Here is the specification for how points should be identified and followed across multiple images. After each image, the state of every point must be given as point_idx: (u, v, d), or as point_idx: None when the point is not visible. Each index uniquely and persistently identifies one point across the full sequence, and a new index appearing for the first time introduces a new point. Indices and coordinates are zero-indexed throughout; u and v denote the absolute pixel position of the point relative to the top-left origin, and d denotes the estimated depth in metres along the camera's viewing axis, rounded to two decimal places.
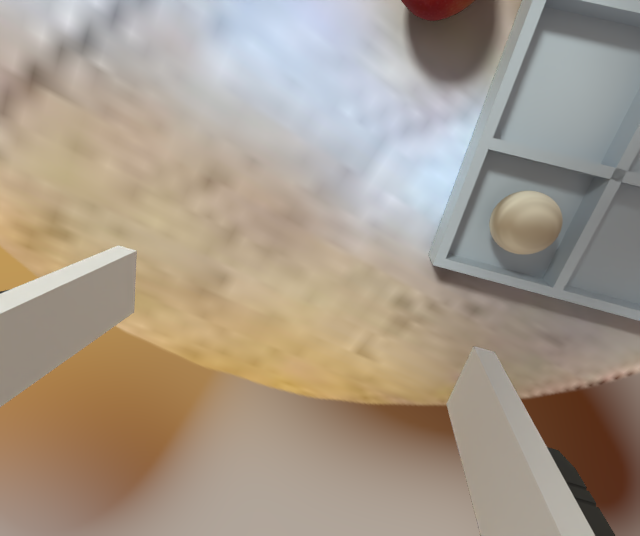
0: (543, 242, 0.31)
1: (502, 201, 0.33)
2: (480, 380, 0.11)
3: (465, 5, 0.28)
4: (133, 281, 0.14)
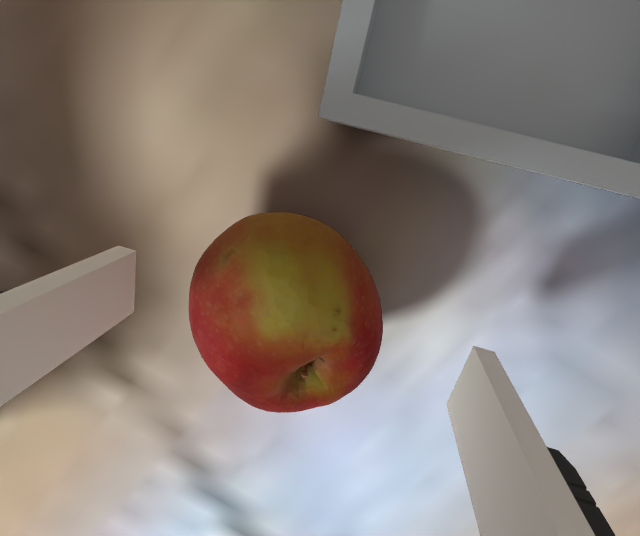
0: None
1: None
2: (480, 380, 0.11)
3: (369, 281, 0.13)
4: (133, 281, 0.14)
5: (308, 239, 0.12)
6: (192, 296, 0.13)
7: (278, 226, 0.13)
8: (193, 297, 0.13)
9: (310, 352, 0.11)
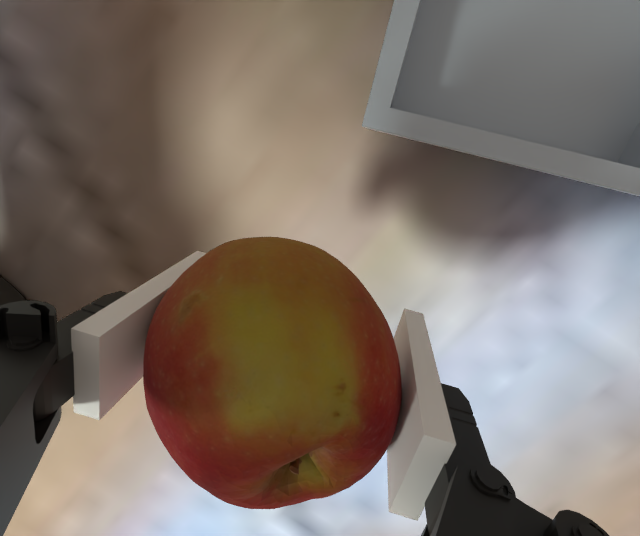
0: None
1: None
2: (404, 335, 0.13)
3: (384, 335, 0.10)
4: None
5: (302, 280, 0.09)
6: (145, 354, 0.09)
7: (261, 261, 0.09)
8: (146, 356, 0.09)
9: (301, 447, 0.08)
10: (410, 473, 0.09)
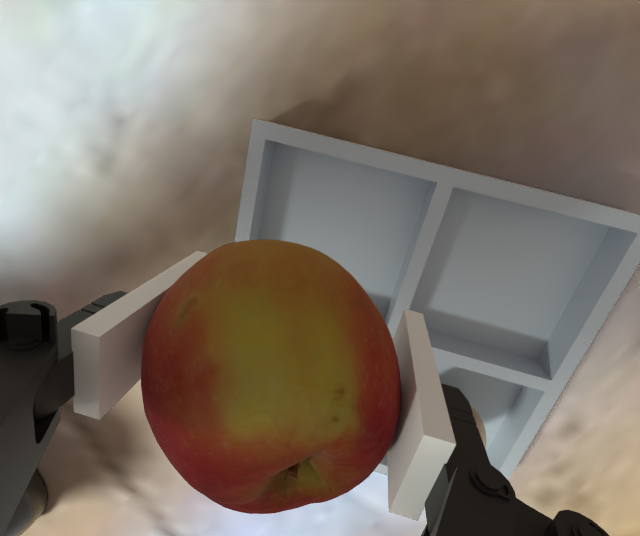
0: None
1: None
2: (404, 335, 0.13)
3: (384, 339, 0.10)
4: None
5: (300, 284, 0.09)
6: (143, 358, 0.09)
7: (260, 264, 0.09)
8: (143, 360, 0.09)
9: (300, 452, 0.08)
10: (410, 473, 0.09)
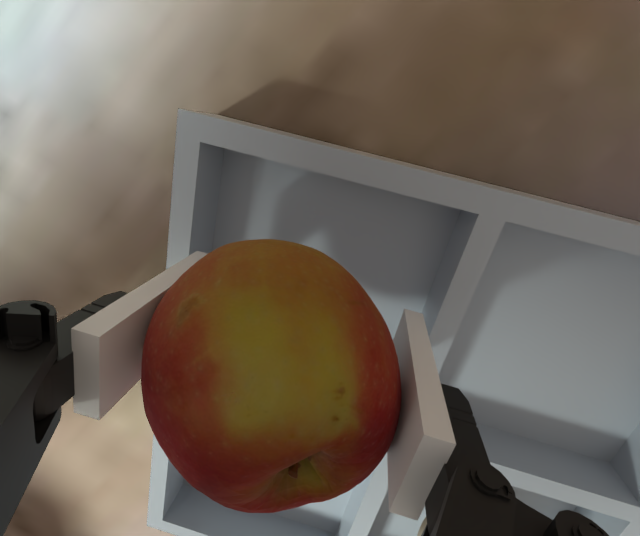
0: None
1: None
2: (404, 335, 0.13)
3: (384, 338, 0.10)
4: None
5: (300, 283, 0.09)
6: (143, 358, 0.09)
7: (260, 264, 0.09)
8: (144, 360, 0.09)
9: (300, 452, 0.08)
10: (410, 473, 0.09)
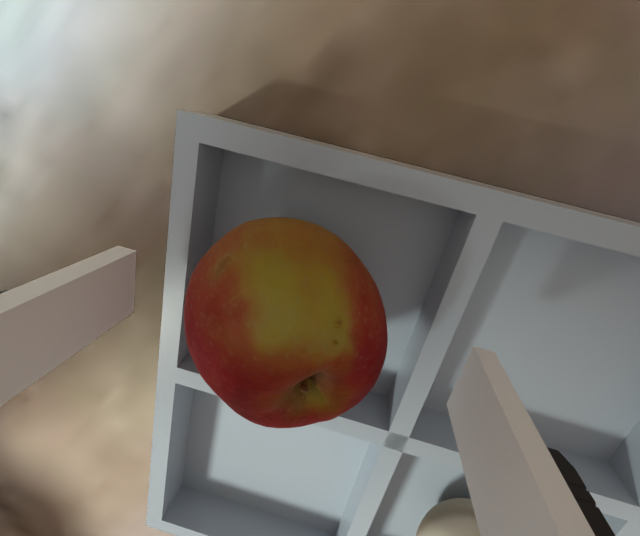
0: None
1: None
2: (480, 380, 0.11)
3: (372, 290, 0.12)
4: (133, 281, 0.14)
5: (308, 246, 0.12)
6: (187, 306, 0.12)
7: (276, 232, 0.12)
8: (188, 307, 0.12)
9: (309, 366, 0.11)
10: None
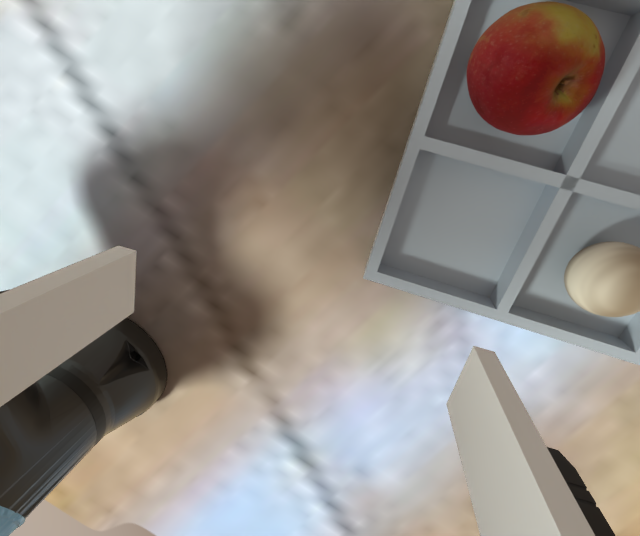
0: None
1: (574, 301, 0.29)
2: (480, 380, 0.11)
3: None
4: (133, 281, 0.14)
5: (570, 5, 0.21)
6: (494, 43, 0.22)
7: None
8: (496, 43, 0.22)
9: (580, 58, 0.20)
10: None
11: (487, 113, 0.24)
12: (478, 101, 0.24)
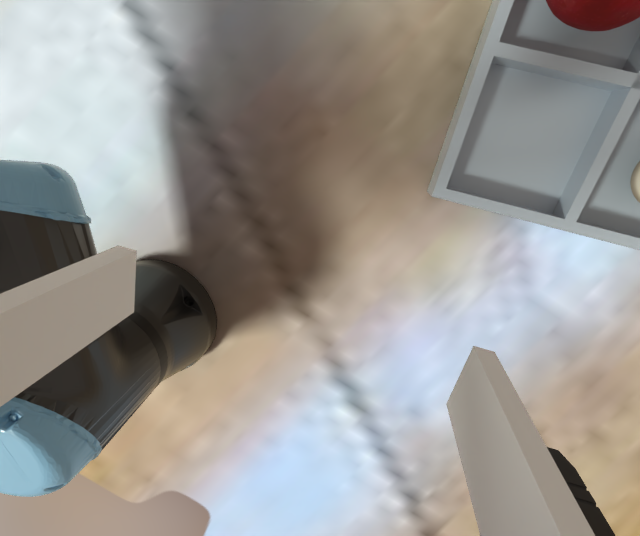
0: None
1: None
2: (480, 380, 0.11)
3: None
4: (133, 281, 0.14)
5: None
6: None
7: None
8: None
9: None
10: None
11: (570, 5, 0.25)
12: None
